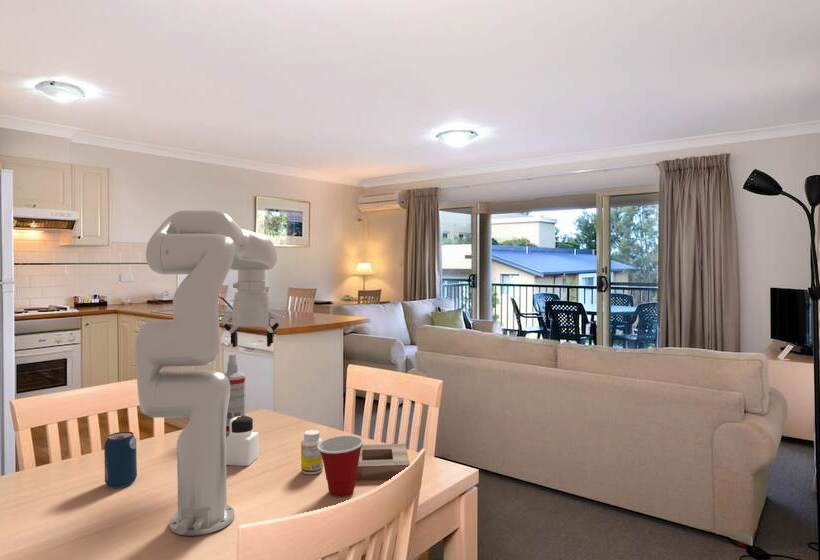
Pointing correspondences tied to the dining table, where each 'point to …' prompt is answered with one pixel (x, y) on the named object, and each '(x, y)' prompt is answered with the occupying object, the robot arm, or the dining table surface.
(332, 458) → the plastic cup
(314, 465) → the supplement bottle
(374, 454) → the square bottle holder
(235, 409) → the spray bottle
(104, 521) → the dining table surface
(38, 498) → the dining table surface
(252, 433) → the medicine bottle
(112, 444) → the soda can
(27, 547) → the dining table surface
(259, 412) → the dining table surface
